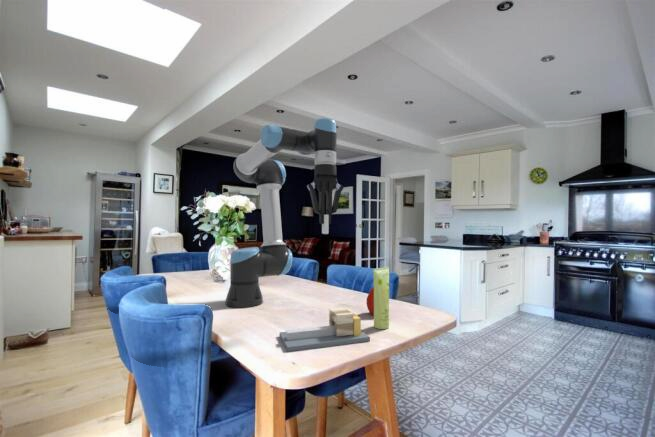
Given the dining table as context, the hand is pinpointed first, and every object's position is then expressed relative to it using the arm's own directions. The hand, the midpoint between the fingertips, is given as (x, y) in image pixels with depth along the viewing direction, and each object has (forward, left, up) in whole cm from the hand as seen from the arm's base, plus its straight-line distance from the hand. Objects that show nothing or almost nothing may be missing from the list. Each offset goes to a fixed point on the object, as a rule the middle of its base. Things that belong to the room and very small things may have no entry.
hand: (325, 233), depth 108 cm
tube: (+10, +16, -31) cm, 36 cm away
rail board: (+14, -5, -30) cm, 34 cm away
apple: (-4, +22, -31) cm, 38 cm away
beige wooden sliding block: (+14, 0, -29) cm, 32 cm away
